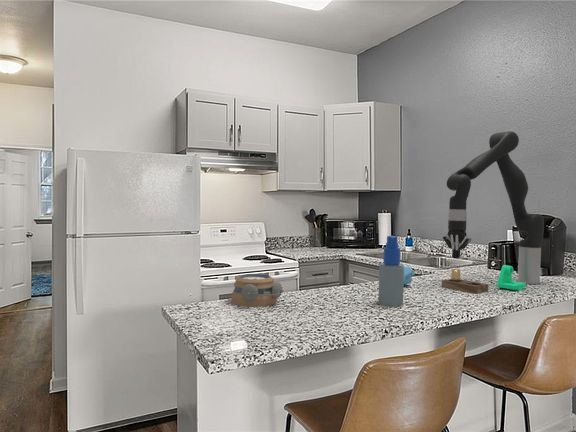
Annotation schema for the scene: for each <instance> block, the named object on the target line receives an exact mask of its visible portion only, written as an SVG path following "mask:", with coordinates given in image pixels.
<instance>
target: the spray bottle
mask: <svg viewBox="0 0 576 432" xmlns="http://www.w3.org/2000/svg"><path fill="white" fill-rule="evenodd" d="M398 239H399V238H398V236H396V235H387V236H386V242H385V246H384V247H383V256H382V257H383V258H382V259H383V263H382V262H381V263H379V266H378V268H379V269H378V299H377V301H378V305H382V306H384V307H396V308H397V307H402V306H404V287H405V286H404V266H405V265H404V264H403V263H401V248H400V247H399V243H398ZM400 263H401V264H400Z"/></svg>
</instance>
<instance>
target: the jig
mask: <svg viewBox="0 0 576 432" xmlns="http://www.w3.org/2000/svg"><path fill="white" fill-rule="evenodd" d="M441 288H444V289H449V288H450V289H449V290H454V289H455V290H456V291H459V290H460V291H459V292H464V293H465V292H466V293H470V294H475V295H476V294H477V295H478V294H481V293H487V292H489V283H483V282H478V281H472V280H465V279H461V278H460V282H454V281H451V278H448V279H443V280H441ZM455 290H454V291H455Z"/></svg>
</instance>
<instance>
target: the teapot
mask: <svg viewBox="0 0 576 432" xmlns="http://www.w3.org/2000/svg"><path fill="white" fill-rule="evenodd" d="M381 263H383V262H381ZM400 264H402V263H401V262H400ZM415 274H416V272H415V271H414V270H412V268H411V266H410V265H409V266H408V265H404V287H407V286H409V285H408V284H411V283H412V280H413V279H412V277H413V276H414V275H415Z"/></svg>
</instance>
